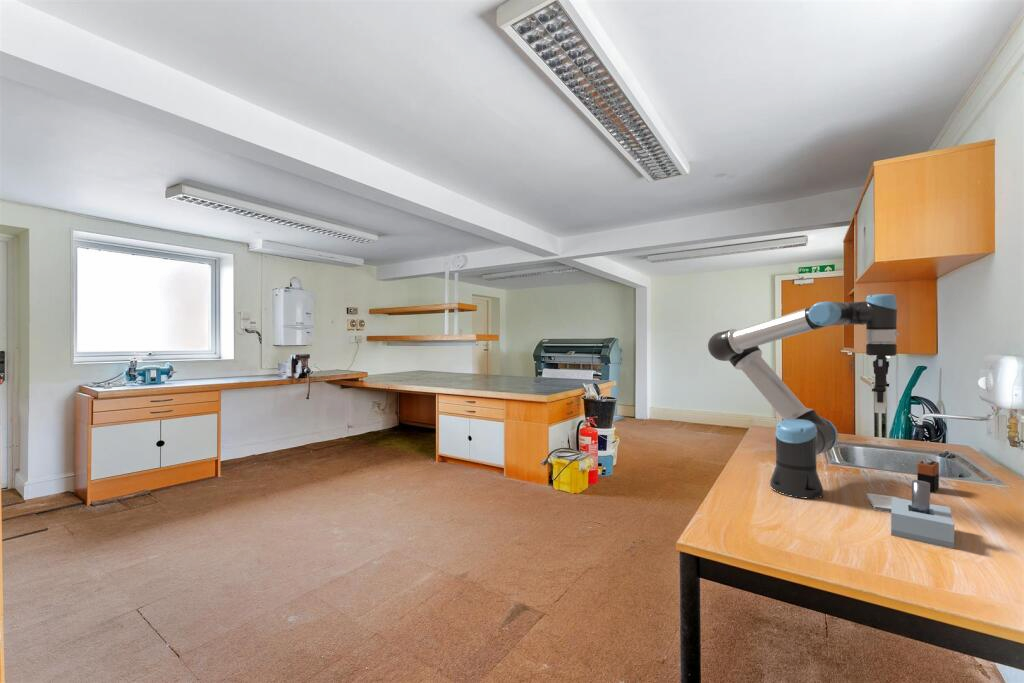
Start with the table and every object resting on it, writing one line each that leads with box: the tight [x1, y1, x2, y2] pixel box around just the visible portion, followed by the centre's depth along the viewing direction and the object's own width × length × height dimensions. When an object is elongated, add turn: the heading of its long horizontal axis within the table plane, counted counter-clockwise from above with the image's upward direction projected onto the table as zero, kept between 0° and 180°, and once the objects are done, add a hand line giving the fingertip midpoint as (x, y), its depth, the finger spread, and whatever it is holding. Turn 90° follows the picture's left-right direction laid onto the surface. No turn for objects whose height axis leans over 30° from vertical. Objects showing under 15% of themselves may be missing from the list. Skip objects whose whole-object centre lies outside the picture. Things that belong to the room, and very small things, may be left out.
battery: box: [916, 458, 940, 493], centre depth 152 cm, size 4×7×10 cm, turn 127°
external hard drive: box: [865, 493, 899, 513], centre depth 140 cm, size 2×8×12 cm
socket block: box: [890, 496, 955, 549], centre depth 122 cm, size 12×14×6 cm
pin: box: [911, 479, 931, 515], centre depth 121 cm, size 4×4×12 cm
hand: (880, 409), depth 144 cm, fingers open, 13 cm apart
